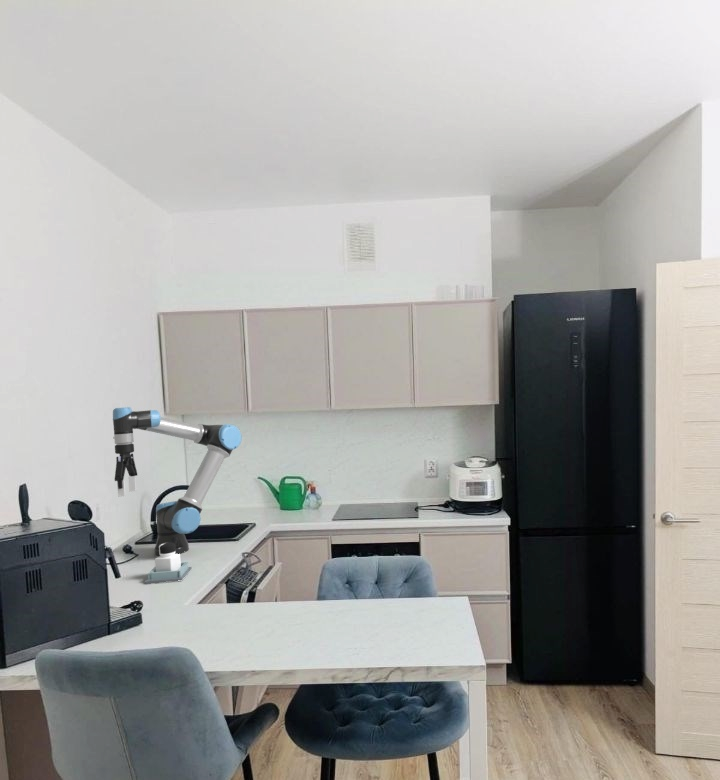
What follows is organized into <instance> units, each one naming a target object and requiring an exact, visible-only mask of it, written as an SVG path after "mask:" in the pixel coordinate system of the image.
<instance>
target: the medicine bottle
mask: <svg viewBox="0 0 720 780" xmlns="http://www.w3.org/2000/svg"><path fill="white" fill-rule="evenodd" d="M159 554H160V555H158V556H157V557H156V558H155V559H154V564H155V565H154V567H155V568H156V572H163V571H175V570H179V569H180V567H181V563H182V561H181V553H179V554H175V544H174V543H164V544H161V545H160V546H159Z"/></svg>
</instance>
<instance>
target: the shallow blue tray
mask: <svg viewBox="0 0 720 780" xmlns="http://www.w3.org/2000/svg"><path fill="white" fill-rule="evenodd" d="M191 569H192V566H189V561H186V562H181V567H180V569H179V570H175V571H163V572H156V568H155V566H154V567H153V568H152V569H151V570H150V571H149V572H148V573H147V579H146V580H145V581H144V585H152V584H151V583H155V584H159V583H158V582H166V581H178V580H182V579H183V578H184V577H185V576H186V575H187V576H188V574H189V573H190V572H191V571H192V570H191ZM190 570H191V571H190ZM189 571H190V572H189ZM188 572H189V573H188ZM187 573H188V574H187ZM187 576H186V577H187ZM186 577H185V578H186ZM185 578H184V579H185ZM184 579H183V580H184ZM183 580H182V581H183ZM178 582H179V581H178ZM166 583H167V582H166Z"/></svg>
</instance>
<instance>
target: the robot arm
mask: <svg viewBox="0 0 720 780" xmlns="http://www.w3.org/2000/svg"><path fill="white" fill-rule="evenodd" d="M112 423H113V434H114V435H113V439H114V444H115V445H114V452H115V454H116V455H119V456H116V458H115V459H116V462H115V463H116V464H115V472H114V473H115V474H114V482H116V483H117V484H116V485H117V487H116V488H117V496H118V497H119V498H121V497H126V485H125V483H126V482H125V479H124V478H125V474H126V473H125V472H126V471H127V473H128V476H127V477H128V478H127V479H128V492H136V491H137V484H136V483H137V480H136V479H137V478H136V476H138V471H137V467H136V463H135V459H134V453H135V446H134V445H135V444H134V430H136V429H137V430H141V431H147V432H151V433H155V434H162V435H165V436H171V437H174V438H180V439H185V440H188V441H193V442H194V443H195V444H197V445H198V444H199V445H202V446H206V447H207V448H206V449H207V452H206V453H205V455H204V458H203V459H202V461H201V463H200V464H199V467H198V469H197V471H196V473H195V474H194V476H193V479H192V480H191V482H190V484H189V486H188V488H187V490H186V491H185V493H184V495H183V496H181V497H179V498H178V499H177V500H175V501H174V500H173V501H169V502H163V503H162V502H161V503H158V504H157V505H156V507H155V514H156V516H155V517H156V529H157V539H156V542H155V545H154V546H155V547H154V554H155V555H156V556H160V554H159V546H160V545H161V544H164V543H174V544H175V554H178V553H179V554H182V553H181V552H183V553H185V552H184V551H186V552H187V551H189V550H188V549H190V547H189V546H190V545H189V542H188V540H187V538H186V535H185V534H191V533H193V532H194V531H196V530H197V529H198V527H199V526H200V524H201V522H202V521H201V519H202V518H201V512H202V511H203V507H202V503H203V501H204V500H205V498H206V495H207V493H208V492H209V490H210V488H211V485H212V484H213V482H214V480H215V478H216V477H217V474H218V472H219V471H220V468H221V466H222V464H223V463H224V461H225V459H226V458H229V457H230V456H231V454H232V453H233V450H235V449H237V448H238V447H239V446H240V445H241V442H242V434H241V431H240V429H239V428H238V427H237V426H236V425H233V424H229V423H228V424H227V423H225V424H202V423H199V424H192V423H188V422H184V421H180V420H176V419H170V418H166V417H162V416H161V414H160V412H159V410H155V409H153V410H152V409H149V410H140V411H139V410H138V411H136V410H135V411H134V410H132V408H131V406H129V407H128V406H127V407H125V406H124V407H116V408H115V407H114V408H113V410H112Z"/></svg>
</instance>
